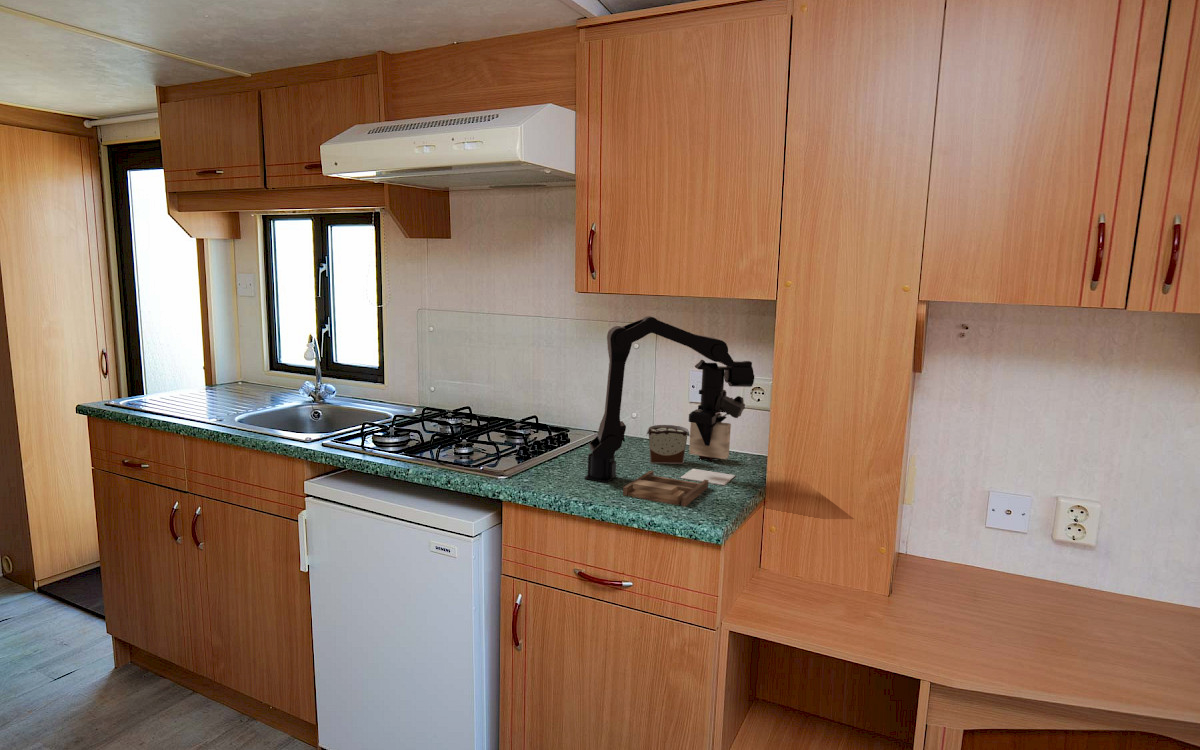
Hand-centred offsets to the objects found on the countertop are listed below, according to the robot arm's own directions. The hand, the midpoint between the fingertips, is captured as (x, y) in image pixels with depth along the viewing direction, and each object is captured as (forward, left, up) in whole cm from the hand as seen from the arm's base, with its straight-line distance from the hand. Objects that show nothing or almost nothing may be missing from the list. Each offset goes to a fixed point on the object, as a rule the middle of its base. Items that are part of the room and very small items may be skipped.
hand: (709, 444), depth 188 cm
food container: (-16, +10, -9) cm, 21 cm away
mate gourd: (-5, +18, -9) cm, 21 cm away
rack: (-5, -18, -9) cm, 21 cm away
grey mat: (0, 0, -9) cm, 9 cm away
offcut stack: (-5, -23, -10) cm, 26 cm away
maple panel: (0, 0, -3) cm, 3 cm away
